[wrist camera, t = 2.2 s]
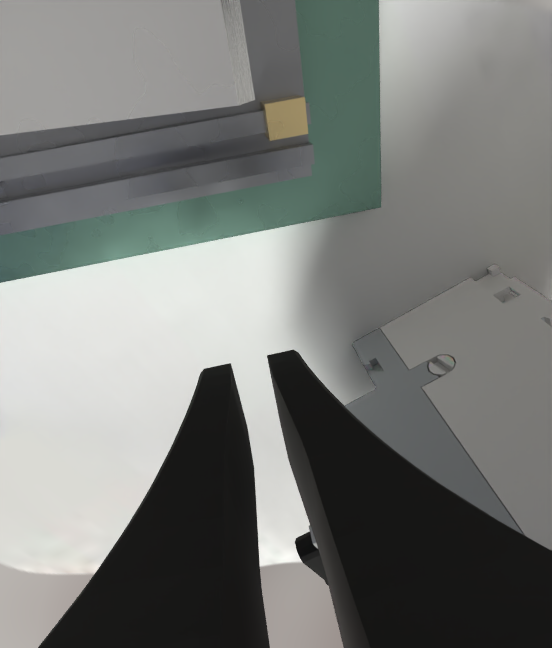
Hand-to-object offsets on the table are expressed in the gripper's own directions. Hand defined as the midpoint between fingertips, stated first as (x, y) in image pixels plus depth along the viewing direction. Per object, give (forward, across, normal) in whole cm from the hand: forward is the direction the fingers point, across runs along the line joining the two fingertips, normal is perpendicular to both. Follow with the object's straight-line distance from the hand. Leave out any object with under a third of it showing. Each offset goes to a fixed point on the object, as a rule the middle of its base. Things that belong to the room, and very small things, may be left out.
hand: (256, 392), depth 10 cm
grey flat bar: (+4, +3, -7) cm, 9 cm away
